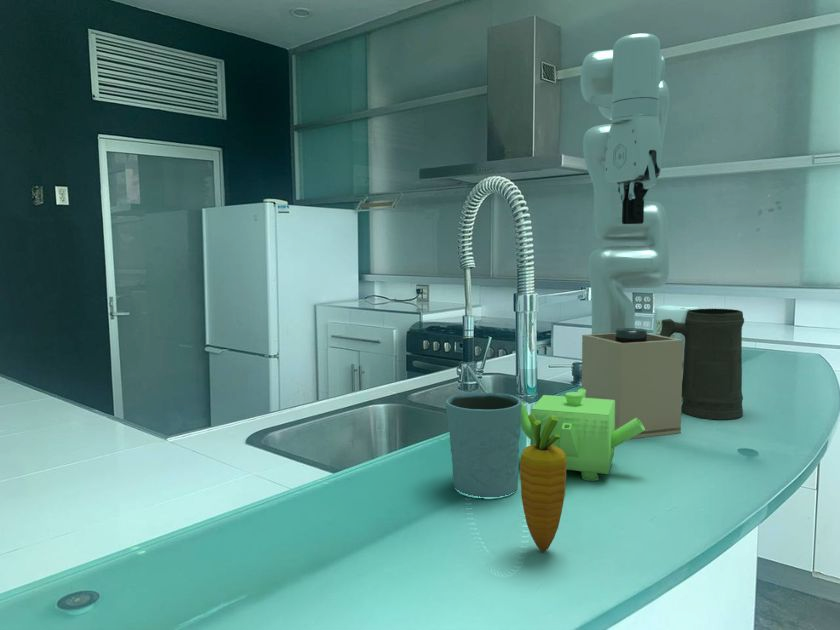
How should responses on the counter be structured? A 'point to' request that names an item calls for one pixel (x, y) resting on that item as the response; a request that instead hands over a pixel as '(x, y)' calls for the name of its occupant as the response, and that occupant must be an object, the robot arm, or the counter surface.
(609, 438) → the kettle
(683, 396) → the beer stein
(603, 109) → the robot arm
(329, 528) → the counter surface
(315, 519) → the counter surface
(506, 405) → the gray cup
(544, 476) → the carrot
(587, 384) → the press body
